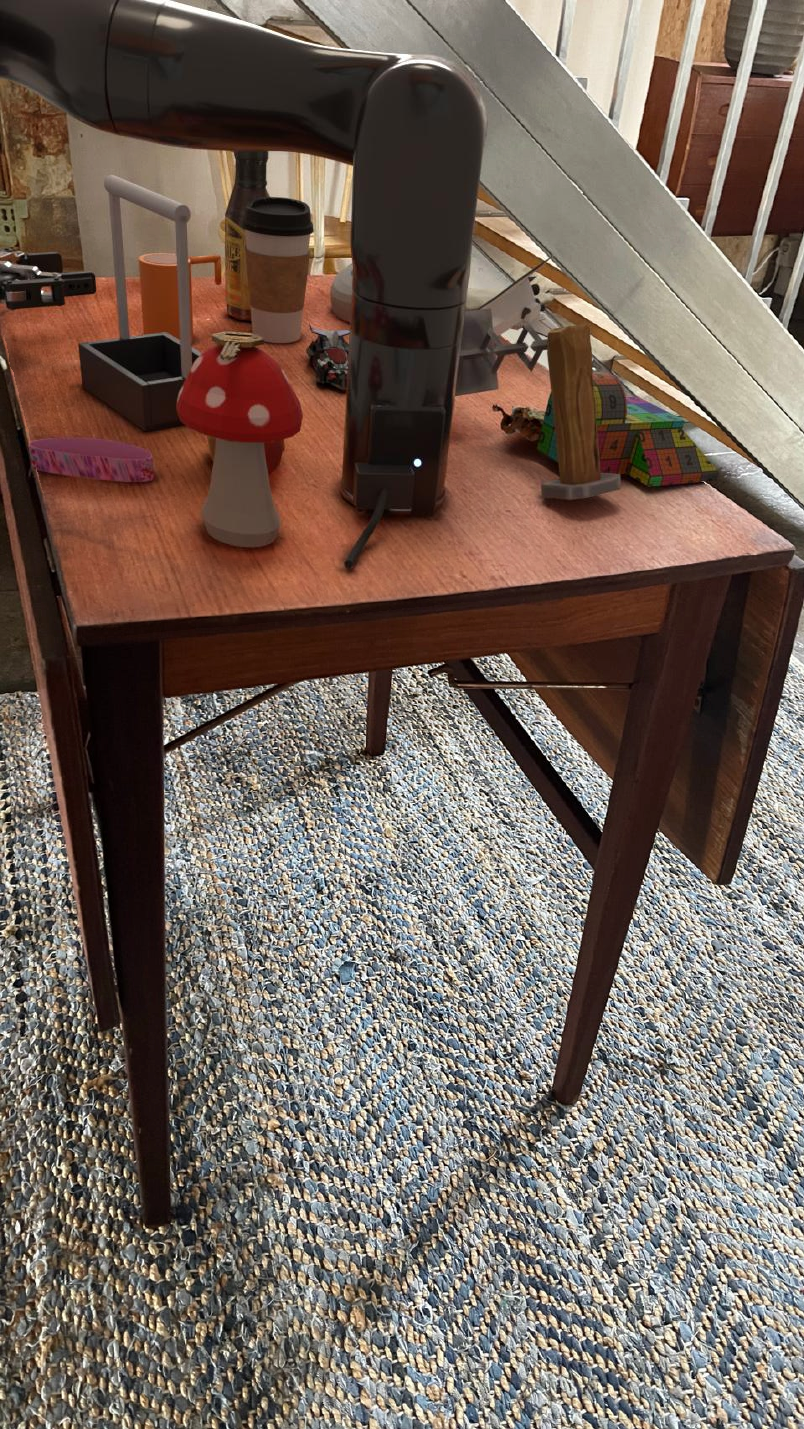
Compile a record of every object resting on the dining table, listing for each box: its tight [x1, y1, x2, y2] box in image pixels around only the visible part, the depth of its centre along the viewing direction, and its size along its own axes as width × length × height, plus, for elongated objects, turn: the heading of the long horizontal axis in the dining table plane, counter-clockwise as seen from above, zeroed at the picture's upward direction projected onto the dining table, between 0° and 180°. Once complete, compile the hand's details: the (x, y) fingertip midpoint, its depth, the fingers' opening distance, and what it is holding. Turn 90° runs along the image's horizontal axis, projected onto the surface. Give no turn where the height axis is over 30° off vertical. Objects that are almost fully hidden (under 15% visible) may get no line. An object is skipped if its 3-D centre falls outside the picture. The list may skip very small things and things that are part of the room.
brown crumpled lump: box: [491, 403, 546, 442], centre depth 104 cm, size 7×12×6 cm, turn 156°
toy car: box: [305, 323, 350, 391], centre depth 115 cm, size 6×12×4 cm, turn 11°
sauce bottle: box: [224, 151, 271, 322], centre depth 127 cm, size 7×6×20 cm
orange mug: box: [138, 252, 222, 344], centre depth 121 cm, size 10×6×9 cm, turn 129°
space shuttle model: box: [476, 254, 558, 339], centre depth 128 cm, size 16×25×10 cm
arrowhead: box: [465, 287, 555, 311], centre depth 143 cm, size 12×4×25 cm
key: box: [210, 330, 265, 360], centre depth 72 cm, size 4×8×1 cm, turn 2°
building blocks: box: [536, 371, 720, 487], centre depth 98 cm, size 15×10×8 cm
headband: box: [28, 437, 155, 483], centre depth 90 cm, size 11×4×2 cm, turn 85°
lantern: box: [455, 308, 622, 501], centre depth 100 cm, size 8×17×30 cm
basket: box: [77, 174, 203, 432], centre depth 100 cm, size 14×10×20 cm
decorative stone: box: [329, 262, 353, 323], centre depth 136 cm, size 18×18×5 cm
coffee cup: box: [242, 196, 315, 344], centre depth 122 cm, size 8×8×15 cm
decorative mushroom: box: [176, 344, 304, 548], centre depth 78 cm, size 10×9×15 cm
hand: (77, 272), depth 111 cm, fingers open, 8 cm apart
